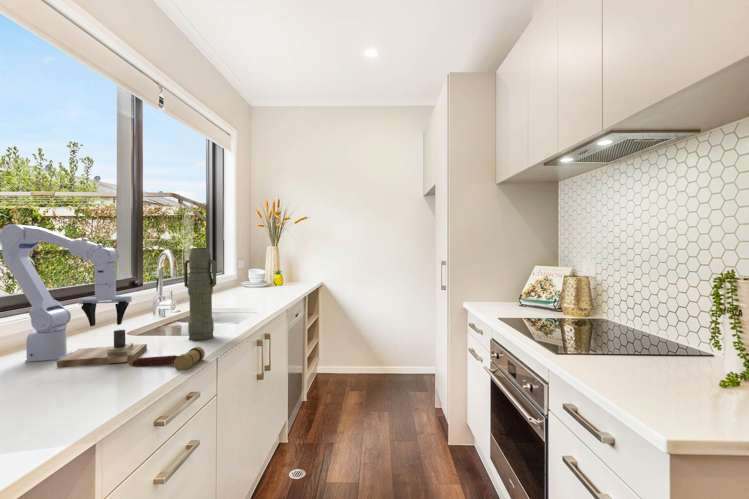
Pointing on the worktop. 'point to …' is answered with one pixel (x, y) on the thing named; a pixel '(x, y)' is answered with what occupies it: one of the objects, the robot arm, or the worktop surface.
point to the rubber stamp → (119, 348)
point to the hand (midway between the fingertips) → (106, 325)
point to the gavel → (173, 359)
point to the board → (96, 356)
